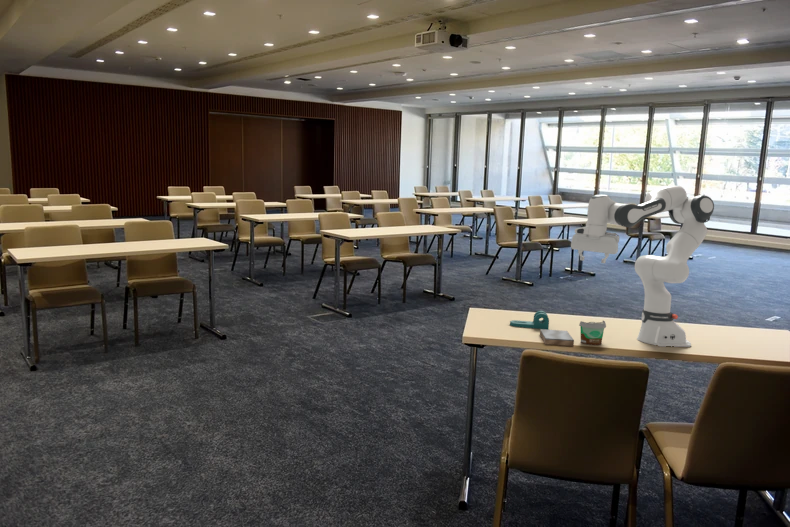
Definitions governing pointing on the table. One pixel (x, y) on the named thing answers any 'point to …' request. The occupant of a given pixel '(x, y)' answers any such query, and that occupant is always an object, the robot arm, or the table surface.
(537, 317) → the bracket
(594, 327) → the food container
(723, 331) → the table surface
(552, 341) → the grey flat block
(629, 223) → the robot arm
